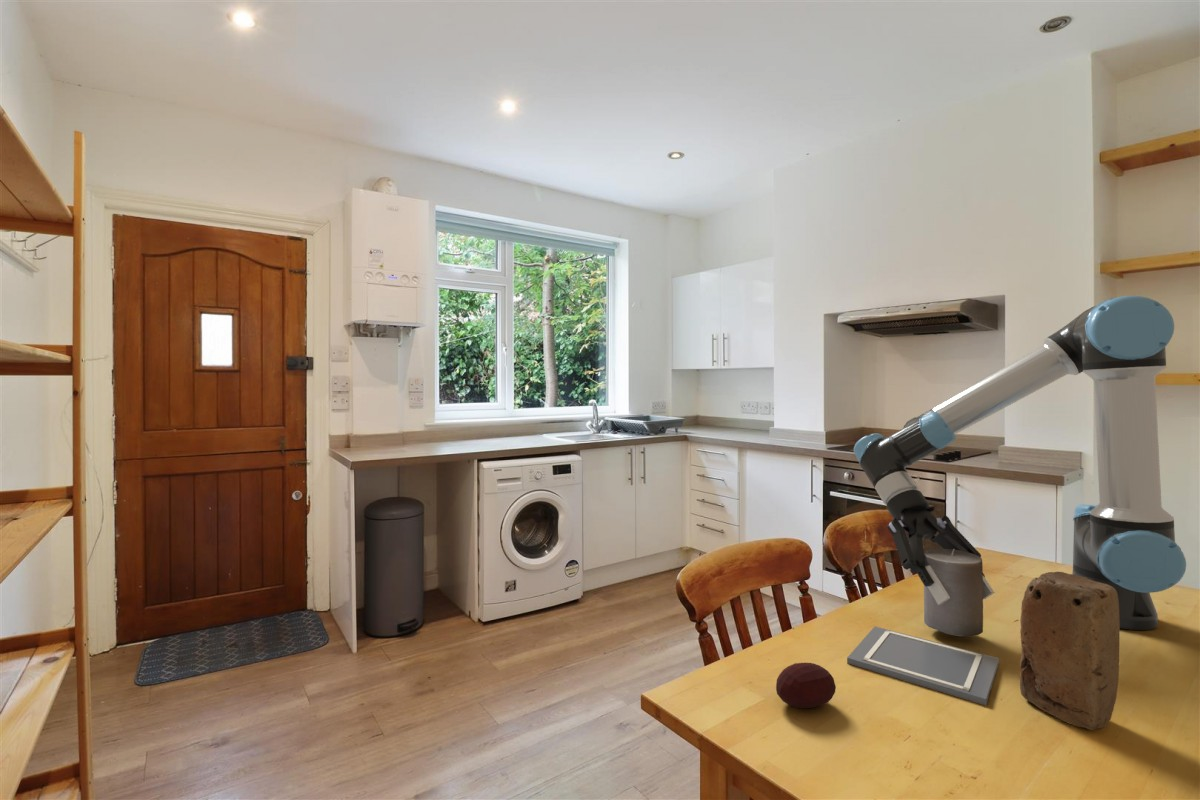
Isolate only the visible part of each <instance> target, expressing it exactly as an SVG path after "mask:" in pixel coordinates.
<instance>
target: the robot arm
mask: <svg viewBox="0 0 1200 800" xmlns="http://www.w3.org/2000/svg"><path fill="white" fill-rule="evenodd" d="M1174 331H1175V320H1174V318H1173V316H1172V314H1171V312H1170V311H1169V309H1167V307H1166V306H1164V304H1161V303H1160V302H1159V301H1157V300H1155V299H1152V298H1149V297H1146V296H1142V295H1124V296H1122V295H1121V296H1117V297H1113V298H1112V297H1111V298H1108V299H1106V300H1104V301H1102V302H1100V303H1098V304H1097V305H1094V306H1092V307H1090V308H1088V309H1086V310H1085V311H1083V312H1082V313H1080V314H1078V316H1077V317H1075V318H1074V319H1073V320H1071V321H1070V322H1069V323H1067V324H1066V325H1064V326H1063V327H1061V328H1059V329H1058V330H1057V331H1055V332H1054V333H1053V334H1051V335H1049V336H1047V337H1045V338H1044V339H1043V343H1042V345H1041V346H1039V347H1038V348H1036V349H1034V350H1032V351H1031V352H1029V353H1026V355H1023V356H1022V357H1020V358H1018V359H1016V360H1015V361H1013V362H1011V363H1010V364H1008V365H1006V366H1004V367H1002V368H1001V369H999V370H997V371H996V372H994V373H992V374H990V375H989V376H987V377H985V378H983V379H982V380H980V381H978V382H976V383H974V384H973V385H971V386H969V387H968V388H966V389H964V390H962V391H960V392H959V393H957V394H955V395H954V396H951V397H950V398H949V399H946V400H945V401H943V402H941V403H939V404H938V405H936V406H933V407H932V408H931V409H929V410H927V411H925V412H924V413H921V414H920V415H918V416H916V417H913V418H911V419H909V420H908V421H906V423H905V424H904V425H903V428H901V429H900V430H897V432H894V433H893V434H890V435H889V436H886V437H885V436H884V435H883V434H881V433H876V432H875V433H871V434H869V435H865V436H863V437H861V438H860V439H858V440H857V441H856V443H855V444H854V447H853V454H854V456H855V457H856V460H857V462H858V463H859V466H860V467H861V469H862V470H863V472H864V473H865V475H866V477H867V478H868V480H869V482H870V483H871V484H872V486H873V488H874V489H875V491H876V492H877V495H878V496H879V497H880V499H881V501H882V503H883V504H884V506H886V510H887V511H888V513H889V514H890V517H892V521H890V522H889V524H888V525H887V526H886V529H887V530H888V532H889V533H890V534H891V537H892V539H893V542H894V545H895V548H896V551H897V553H898V557H899V559H900V562H901V565H902V568H903V569H904V570H909V571H910V573H912V574H913V575H915V574H917V576H918V578H919V579H920V581H921V582H922V584H923V586H924V585H925V586H926V587H928V589H929V590H930V592H931V594H932V595H933V597H934V599H935V600H936V602H937V604H938V605H942V604H943V603H944V602H946V601H947V600H948V599H950V597H949V595H948V593H947V592H946V590H945V588H944V587H943V585H942V584H941V582H940V580H939V579H938V577H937V576H936V574H935V572H934V571H933V569H932V568H931V566H930V565H929V566H926V567H925V557H924V552H925V550H924V541H923V540H925V539H926V540H929V541H931V542H932V543H936V544H937V545H939V546H940V547H941V549H952V550H953V549H955V550H959V551H964V552H968V553H972V554H975V555H977V556H979V557H981V558H982V555H981V553H980V552H979V550H977V548H975V546H973V545H972V544H971V542H970V541H969V540H968V539H967V538H966V537H965V536H964V535H963V534H962V532H960V531H959V529H957V528H956V527H955V525H954V524H953V522H952V521H951V519H950V518H949V516H947V515H943V516H941V517H936V516H935V515H933V514H932V513H931V511H930V503H929V502H928V500H927V498H926V497H925V496H924V494H923V493H922V491H920V490H919V487H918V485H917V484H916V482H915V481H914V479H913V478H912V476H911V475H910V474H909V471H907V469H906V468H907V467H909V466H912V465H913V464H915V463H916V462H919V461H920V460H922V459H925V458H926V457H929V456H930V455H931V454H934V453H936V452H937V451H939V450H943V449H944V448H946V447H947V446H948V445H950V444H952V443H953V442H955V441H956V439H957V436H956V435H957V434H958V433H960V432H962V431H964V430H966V429H967V428H970V427H972V426H973V425H976V424H977V423H979V422H981V421H982V420H984V419H986V418H989V417H991V416H992V415H994V414H995V413H998V412H1000V411H1001V410H1003V409H1005V408H1007V407H1009V406H1011V405H1012V404H1015V403H1017V402H1018V401H1020V400H1022V399H1024V398H1025V397H1028V396H1029V395H1031V394H1033V393H1035V392H1037V391H1039V390H1040V389H1043V388H1045V387H1046V386H1049V384H1052V383H1054V382H1055V381H1058V380H1059V379H1062V378H1063V377H1065V376H1067V375H1073V376H1077V375H1079V374H1081V373H1083V374H1085V375H1086V376H1088V377H1090V379H1092V380H1093V391H1094V392H1093V395H1094V414H1095V416H1094V417H1095V431H1096V432H1095V434H1096V435H1095V437H1096V452H1097V454H1096V455H1097V456H1096V457H1097V471H1098V472H1097V473H1098V474H1097V475H1098V476H1097V477H1098V493H1099V502H1098V505H1095V504H1079V505H1077V506H1076V507H1075V509H1074V515H1073V517H1072V521H1073V546H1072V547H1073V549H1072V550H1073V551H1072V573H1071V574H1075V575H1080V576H1082V577H1086V578H1088V579H1090V580H1093V581H1095V582H1100V583H1104V584H1108V585H1110V586H1112V587H1114V589H1115V590H1116V591H1117V594H1118V601H1119V621H1120V629H1124V630H1132V631H1151V630H1154V629H1157V628H1158V625H1159V624H1158V623H1159V621H1158V620H1159V616H1158V615H1159V614H1158V612H1157V609H1156V607H1155V606H1156V605H1155V604H1154V601H1153V599H1152V595H1151V593H1158V592H1163V591H1166V590H1168V589H1171V588H1172V587H1173V586H1175V585H1177V584H1178V583H1179V582H1180V581H1181V580H1182V578H1183V577H1184V575H1185V573H1186V569H1187V560H1186V557H1185V554H1184V552H1183V551H1182V548H1181V546H1180V545H1178V544H1177V543H1176V536H1175V535H1176V534H1175V518H1174V516H1173V515H1171V514H1170V513H1169V512H1168V511H1167V510H1165V509H1164V508H1163V506H1162V487H1161V469H1160V468H1161V466H1160V449H1159V447H1160V446H1159V429H1158V409H1157V407H1158V406H1157V405H1158V404H1157V389H1156V385H1157V384H1156V377H1157V376H1158V375H1159V374H1160V373H1162V372H1163V371H1164V370H1165V369H1166V368H1167V357H1166V356H1167V353H1166V352H1167V351H1166V350H1167V349H1166V347H1167V346H1168V345H1169V343H1170V342H1171V340H1172V338H1173V335H1174ZM993 594H995V591H994V590H993V588H992V587H991V585H990V583H989V582H988V580H987V579H986V576H985V574H984V573H983V600H986V599H988V598H989V597H991V596H993Z"/></svg>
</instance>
